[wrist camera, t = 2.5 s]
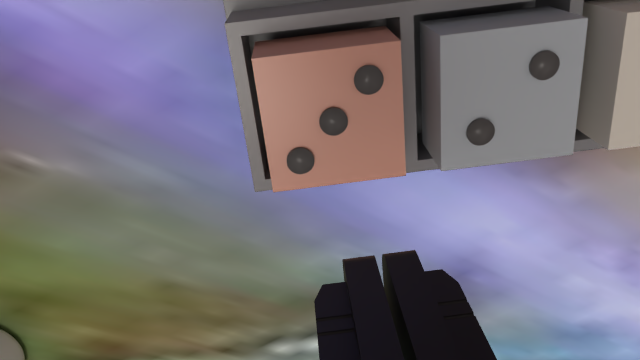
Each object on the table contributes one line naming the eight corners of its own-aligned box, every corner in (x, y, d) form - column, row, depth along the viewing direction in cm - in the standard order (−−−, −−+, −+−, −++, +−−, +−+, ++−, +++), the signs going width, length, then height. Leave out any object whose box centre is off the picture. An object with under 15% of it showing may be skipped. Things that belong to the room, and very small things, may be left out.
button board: (688, -66, 27) (769, -65, 23) (655, 117, 32) (718, 149, 27) (224, -10, 27) (213, 2, 22) (256, 167, 31) (251, 208, 27)
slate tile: (548, 6, 24) (590, 18, 21) (538, 128, 27) (575, 156, 24) (419, 21, 24) (441, 36, 21) (422, 142, 27) (442, 173, 24)
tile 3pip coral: (385, 25, 24) (401, 41, 21) (391, 146, 27) (406, 177, 24) (255, 41, 24) (250, 59, 21) (273, 161, 27) (273, 194, 23)
